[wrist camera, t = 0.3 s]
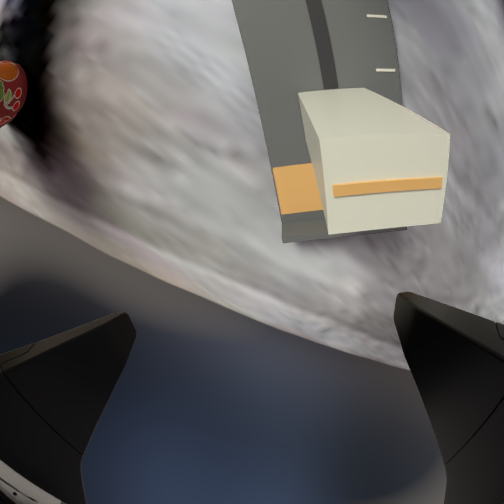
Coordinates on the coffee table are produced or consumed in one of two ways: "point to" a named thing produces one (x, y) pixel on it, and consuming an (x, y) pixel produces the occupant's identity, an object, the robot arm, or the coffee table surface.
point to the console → (311, 85)
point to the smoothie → (11, 90)
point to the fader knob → (374, 160)
